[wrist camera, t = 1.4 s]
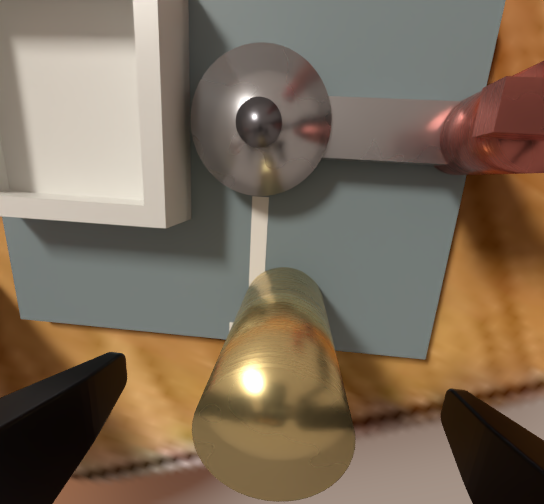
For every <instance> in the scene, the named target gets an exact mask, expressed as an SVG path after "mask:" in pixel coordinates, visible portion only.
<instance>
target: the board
mask: <svg viewBox="0 0 544 504" xmlns="http://www.w3.org/2000/svg"><path fill="white" fill-rule="evenodd" d="M504 5H505V0H188V8H189V81H190V155H191V219H190V220H187V221H185V222H182V223H179V224H177V225H174V226H171V227H169V228H152V227H139V226H125V225H112V224H98V223H85V222H71V221H58V220H45V219H31V218H18V217H4V216H2V218H3V224H4V229H5V235H6V240H7V246H8V251H9V257H10V262H11V268H12V273H13V279H14V284H15V290H16V295H17V301H18V306H19V312H20V317H21V319H27V320H37V321H47V322H57V323H67V324H76V325H86V326H96V327H106V328H116V329H126V330H136V331H146V332H156V333H166V334H176V335H186V336H196V337H206V338H216V339H227V336H228V334H229V332H230V329H231V327H232V325H233V322H234V320H235V318H236V315H237V313H238V311H239V308H240V306H241V304H242V301H243V299H244V297H245V294H246V292H247V290H248V288H249V286H250V284H251V283H252V281H253V280H254V279H255V278H256V277H257V276H259V275H260V274H261V273H263V272H265V271H267V270H270V269H273V268H279V267H288V268H293V269H297V270H299V271H302V272H304V273H305V274H307V275H308V276H310V277H311V278H312V279H313V280H314V281H315V282H316V284H317V285H318V287H319V289H320V291H321V293H322V297H323V301H324V305H325V309H326V314H327V318H328V322H329V326H330V330H331V334H332V339H333V343H334V347H335V350H336V351H345V352H355V353H365V354H375V355H385V356H395V357H405V358H415V359H426V355H427V350H428V346H429V341H430V337H431V332H432V328H433V323H434V319H435V314H436V310H437V305H438V301H439V296H440V292H441V287H442V283H443V278H444V274H445V269H446V265H447V260H448V256H449V251H450V247H451V243H452V238H453V234H454V229H455V225H456V220H457V216H458V211H459V207H460V202H461V198H462V193H463V189H464V184H465V180H466V175H449V174H446V173H443V172H441V171H440V170H438V169H437V168H435V167H434V166H433V165H416V164H398V163H380V162H361V161H343V160H325V159H321V160H320V162H319V163H318V165H317V166H316V168H315V169H314V170H313V172H312V173H311V174H310V175H309V176H308V177H307V178H306V179H304V180H303V181H302V182H301V183H299V184H298V185H296V186H295V187H293V188H291V189H289V190H287V191H285V192H282V193H278V194H275V195H269V196H253V195H247V194H243V193H239V192H237V191H235V190H232V189H230V188H229V187H227V186H225V185H223V184H222V183H221V182H220V181H218V180H217V179H216V178H215V177H214V176H213V175H212V174H211V173H210V172H209V171H208V169H207V168H206V167H205V165H204V164H203V162H202V161H201V159H200V157H199V155H198V153H197V150H196V148H195V145H194V141H193V137H192V132H191V108H192V102H193V98H194V94H195V91H196V89H197V87H198V84H199V82H200V80H201V79H202V77H203V75H204V74H205V72H206V71H207V70H208V68H209V67H210V66H211V65H212V64H213V63H214V62H215V61H216V60H217V59H218V58H219V57H221V56H222V55H223V54H225V53H226V52H228V51H230V50H232V49H234V48H236V47H239V46H241V45H245V44H250V43H258V42H266V43H274V44H278V45H282V46H284V47H287V48H289V49H291V50H293V51H295V52H296V53H298V54H300V55H301V56H302V57H303V58H305V59H306V60H307V61H308V62H309V63H310V64H311V65H312V66H313V68H314V69H315V70H316V71H317V73H318V74H319V76H320V77H321V79H322V81H323V83H324V85H325V87H326V90H327V93H328V96H340V97H365V98H391V99H416V100H441V101H461V100H463V99H465V98H468V97H470V96H472V95H474V94H476V93H478V92H480V91H482V89H483V88H484V87H486V86H487V81H488V77H489V72H490V68H491V63H492V59H493V54H494V50H495V45H496V41H497V36H498V32H499V27H500V23H501V18H502V14H503V9H504Z"/></svg>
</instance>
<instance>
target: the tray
mask: <svg viewBox="0 0 544 504" xmlns="http://www.w3.org/2000/svg"><path fill="white" fill-rule="evenodd" d="M0 216H4V217H18V218H31V219H45V220H58V221H71V222H85V223H98V224H112V225H125V226H139V227H152V228H169V227H171V226H174V225H177V224H179V223H182V222H185V221H187V220H190V219H191V155H190V81H189V8H188V0H0Z"/></svg>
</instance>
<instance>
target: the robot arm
mask: <svg viewBox="0 0 544 504" xmlns="http://www.w3.org/2000/svg"><path fill="white" fill-rule="evenodd" d="M126 382H127V369H126V358H125V355H124V354H122V353H115V352H109V353H106V354H104V355H101V356H99V357H96V358H94V359H92V360H89V361H87V362H84V363H82V364H80V365H77V366H75V367H73V368H70V369H68V370H65V371H63V372H61V373H58V374H56V375H54V376H51V377H49V378H46V379H44V380H42V381H39V382H37V383H34V384H32V385H30V386H27V387H25V388H23V389H20V390H18V391H15V392H13V393H11V394H8V395H6V396H4V397H1V398H0V504H52V503H53V502H54V500H55V499H56V498H57V496H58V495H59V493H60V492H61V490H62V489H63V487H64V485H65V484H66V483H67V481H68V480H69V478H70V477H71V475H72V474H73V472H74V471H75V469H76V468H77V466H78V465H79V464H80V462H81V461H82V459H83V458H84V456H85V455H86V453H87V452H88V450H89V449H90V447H91V446H92V444H93V442H94V441H95V439H96V438H97V436H98V434H99V433H100V431H101V429H102V427H103V425H104V424H105V422H106V420H107V418H108V416H109V415H110V413H111V411H112V409H113V407H114V406H115V404H116V402H117V400H118V398H119V397H120V395H121V393H122V391H123V389H124V388H125V385H126ZM441 422H442V425H443V428H444V431H445V434H446V436H447V439H448V442H449V444H450V447H451V449H452V453H453V455H454V458H455V461H456V463H457V466H458V469H459V471H460V474H461V477H462V480H463V482H464V485H465V487H466V489H467V492H468V494H469V496H470V498H471V501H472V503H473V504H544V440H542V439H541V438H539V437H537V436H536V435H534V434H533V433H531V432H530V431H528V430H527V429H525V428H523V427H522V426H520V425H519V424H517V423H516V422H514V421H512V420H511V419H509V418H508V417H506V416H505V415H503V414H502V413H500V412H499V411H497V410H496V409H494V408H492V407H491V406H489V405H488V404H486V403H485V402H483V401H482V400H480V399H478V398H477V397H475V396H474V395H472V394H471V393H469V392H468V391H465V390H459V389H449V390H447V392H446V395H445V399H444V403H443V407H442V411H441Z"/></svg>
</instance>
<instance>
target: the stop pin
mask: <svg viewBox="0 0 544 504" xmlns="http://www.w3.org/2000/svg"><path fill="white" fill-rule="evenodd" d="M192 436H193V442H194V446H195V449H196V451H197V454H198V456H199V457H200V459H201V461H202V463H203V464H204V465H205V467H206V468H207V469H208V471H210V472H211V473H212V475H213V476H214V477H215V478H217V479H218V480H219V481H220V482H222V483H223V484H225V485H226V486H228V487H229V488H231V489H233V490H235V491H237V492H239V493H241V494H244V495H246V496H249V497H253V498H257V499H261V500H267V501H293V500H300V499H304V498H308V497H311V496H313V495H316V494H318V493H320V492H322V491H324V490H326V489H327V488H329V487H330V486H332V485H333V484H334V483H335V482H336V481H338V480H339V479H340V477H341V476H342V475H343V474H344V473H345V471H346V470H347V468H348V467H349V465H350V462H351V460H352V458H353V453H354V450H355V431H354V427H353V423H352V418H351V414H350V410H349V406H348V402H347V397H346V393H345V389H344V385H343V381H342V376H341V372H340V368H339V364H338V360H337V355H336V351H335V347H334V343H333V339H332V334H331V330H330V326H329V322H328V318H327V314H326V309H325V305H324V301H323V297H322V293H321V291H320V289H319V287H318V285H317V284H316V282H315V281H314V280H313V279H312V278H311V277H310V276H308V275H307V274H305V273H304V272H302V271H299V270H297V269H293V268H288V267H279V268H273V269H270V270H267V271H265V272H263V273H261V274H260V275H259V276H257V277H256V278H255V279H254V280H253V281H252V283H251V284H250V286H249V288H248V290H247V292H246V294H245V297H244V299H243V301H242V304H241V306H240V308H239V311H238V313H237V315H236V318H235V320H234V322H233V325H232V327H231V329H230V332H229V334H228V336H227V339H226V341H225V343H224V346H223V348H222V350H221V353H220V355H219V357H218V360H217V362H216V364H215V366H214V369H213V371H212V373H211V376H210V378H209V380H208V383H207V385H206V387H205V390H204V392H203V394H202V397H201V399H200V401H199V404H198V406H197V408H196V411H195V413H194V418H193V423H192Z"/></svg>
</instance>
